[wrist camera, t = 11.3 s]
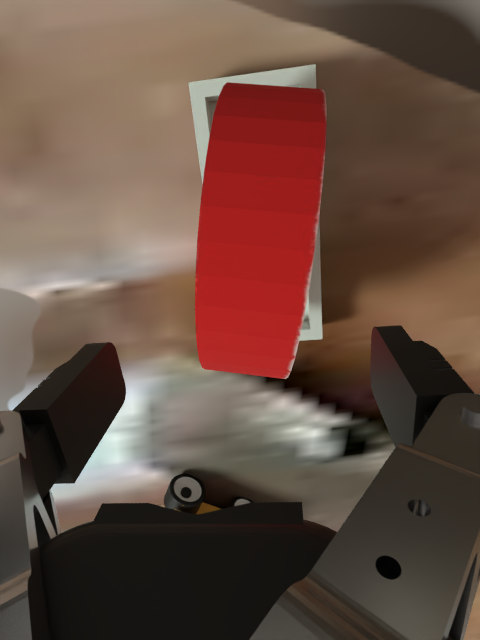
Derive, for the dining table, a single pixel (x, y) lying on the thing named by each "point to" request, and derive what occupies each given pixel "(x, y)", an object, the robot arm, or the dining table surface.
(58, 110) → the dining table surface
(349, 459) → the dining table surface
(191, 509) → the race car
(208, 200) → the toy clock
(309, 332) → the tray
